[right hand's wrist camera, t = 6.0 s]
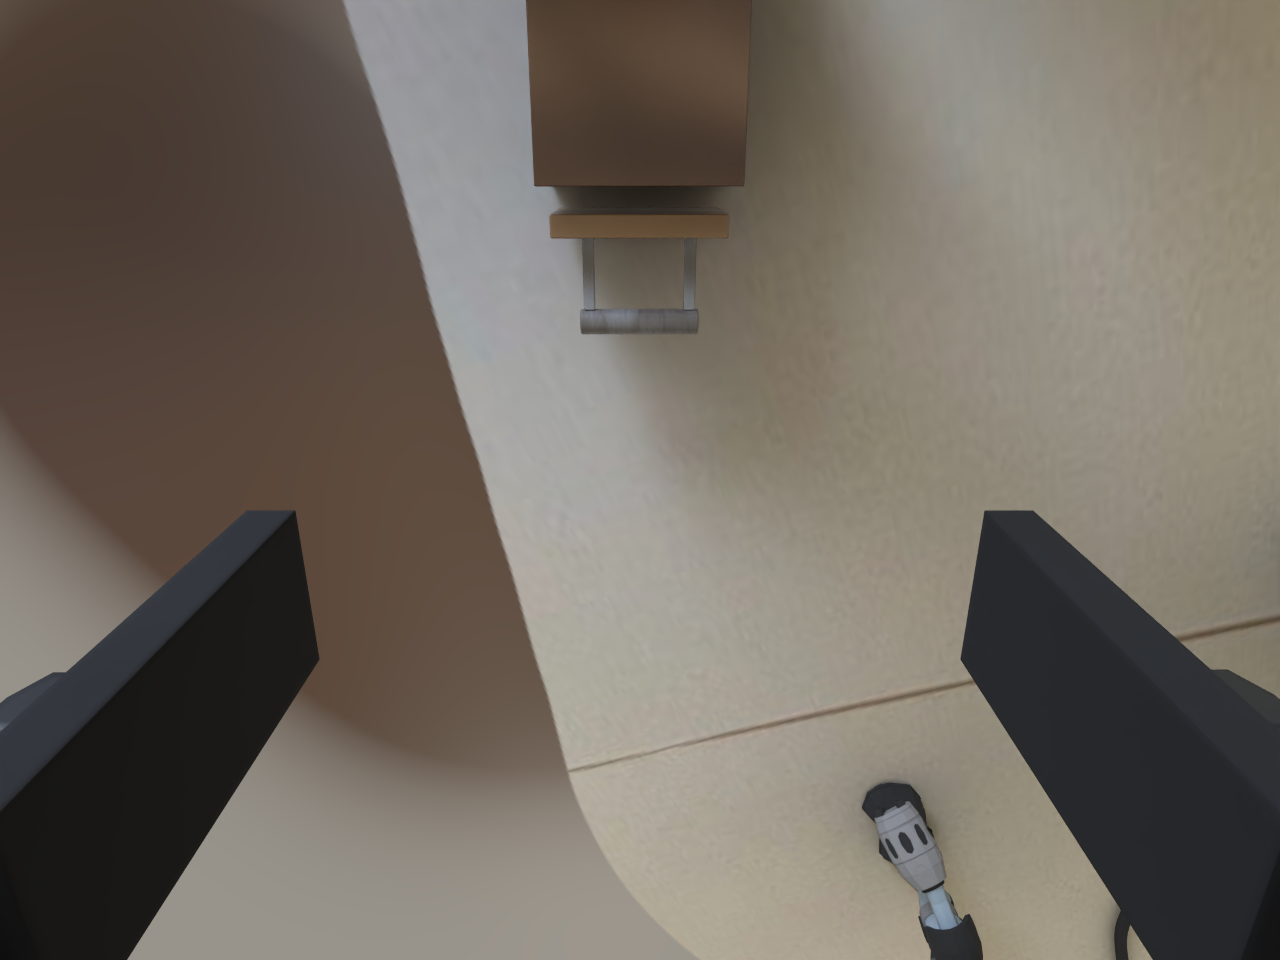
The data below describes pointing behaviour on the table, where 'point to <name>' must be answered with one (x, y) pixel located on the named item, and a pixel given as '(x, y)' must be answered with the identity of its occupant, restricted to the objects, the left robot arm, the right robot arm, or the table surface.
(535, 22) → the cabinet
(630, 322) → the drawer
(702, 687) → the table surface
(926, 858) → the robot
